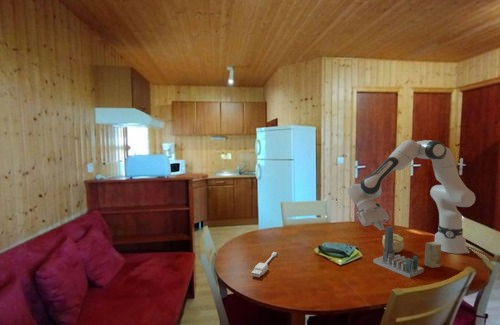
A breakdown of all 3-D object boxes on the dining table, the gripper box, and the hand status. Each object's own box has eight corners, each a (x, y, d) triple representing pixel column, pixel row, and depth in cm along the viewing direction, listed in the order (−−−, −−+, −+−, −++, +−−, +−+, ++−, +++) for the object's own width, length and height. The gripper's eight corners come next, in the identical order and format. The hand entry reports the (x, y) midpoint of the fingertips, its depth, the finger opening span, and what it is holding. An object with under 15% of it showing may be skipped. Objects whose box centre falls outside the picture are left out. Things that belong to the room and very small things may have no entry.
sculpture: (382, 252, 160) (382, 235, 160) (382, 245, 171) (382, 229, 170) (403, 255, 155) (404, 237, 154) (403, 248, 166) (403, 231, 165)
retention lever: (384, 253, 145) (385, 226, 144) (389, 252, 147) (389, 225, 146) (388, 255, 143) (388, 227, 142) (392, 253, 145) (393, 226, 144)
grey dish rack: (373, 262, 147) (373, 248, 146) (386, 257, 153) (387, 244, 152) (409, 278, 129) (410, 262, 129) (423, 272, 135) (424, 256, 135)
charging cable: (279, 256, 160) (279, 250, 160) (260, 279, 131) (260, 272, 131) (271, 254, 162) (271, 249, 162) (250, 277, 133) (250, 270, 133)
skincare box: (431, 268, 139) (432, 245, 138) (424, 264, 143) (424, 242, 142) (441, 266, 141) (441, 244, 140) (433, 263, 145) (434, 241, 144)
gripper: (358, 208, 149) (373, 229, 141) (382, 203, 158) (397, 223, 150) (352, 214, 153) (366, 235, 145) (375, 209, 163) (389, 229, 155)
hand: (382, 229), depth 148 cm, fingers closed
